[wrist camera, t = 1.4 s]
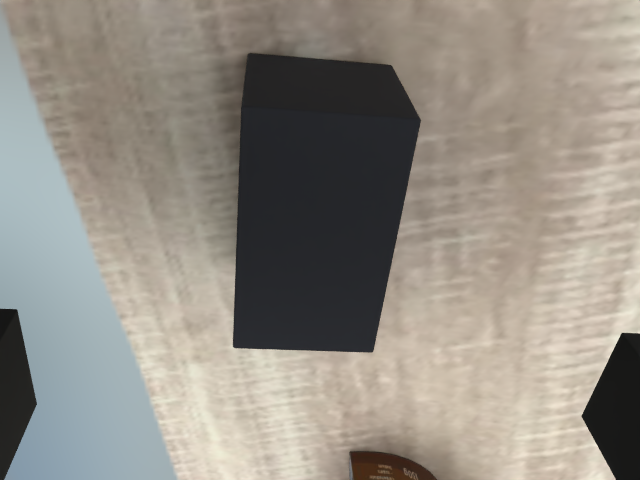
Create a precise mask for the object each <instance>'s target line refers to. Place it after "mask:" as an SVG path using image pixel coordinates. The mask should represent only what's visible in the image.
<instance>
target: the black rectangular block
mask: <svg viewBox="0 0 640 480" xmlns="http://www.w3.org/2000/svg"><path fill="white" fill-rule="evenodd" d="M420 122H421V120H420V118H419V116H418V114H417V112H416V110H415V108H414V106H413V104H412V103H411V101H410V99H409V97H408V95H407V93H406V91H405V90H404V88H403V86H402V84H401V82H400V80H399V78H398V77H397V75H396V73H395V71H394V69H393V67H392V66H391V65H381V64H369V63H357V62H346V61H334V60H322V59H311V58H299V57H287V56H276V55H264V54H252V53H249V54H248V57H247V65H246V73H245V82H244V90H243V98H242V106H241V131H240V160H239V188H238V217H237V245H236V274H235V302H234V331H233V347H234V348H248V349H279V350H311V351H342V352H373V350H374V346H375V341H376V336H377V331H378V326H379V321H380V316H381V312H382V307H383V302H384V297H385V292H386V287H387V282H388V277H389V273H390V268H391V263H392V258H393V253H394V248H395V243H396V239H397V234H398V229H399V224H400V219H401V214H402V209H403V205H404V200H405V195H406V190H407V185H408V180H409V175H410V171H411V166H412V161H413V156H414V151H415V146H416V141H417V137H418V132H419V127H420Z"/></svg>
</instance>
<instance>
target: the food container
mask: <svg viewBox="0 0 640 480" xmlns="http://www.w3.org/2000/svg"><path fill="white" fill-rule="evenodd" d="M349 480H437V479H436V478H435V477H434V476H433V475H432V474H431V473H430V472H429V471H428V470H426V469H425V468H424V467H422V466H421V465H419V464H417V463H415V462H413V461H411V460H408V459H405V458H402V457H399V456H395V455H390V454H385V453H376V452H350V468H349Z"/></svg>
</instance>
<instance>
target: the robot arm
mask: <svg viewBox="0 0 640 480" xmlns="http://www.w3.org/2000/svg"><path fill="white" fill-rule="evenodd" d="M36 405H37V402H36V398H35V393H34V388H33V384H32V379H31V374H30V369H29V364H28V359H27V355H26V350H25V345H24V340H23V335H22V331H21V326H20V321H19V316H18V311H17V310H16V309H0V480H4V479H5V476H6V474H7V472H8V469H9V467H10V465H11V462H12V460H13V458H14V456H15V453H16V451H17V449H18V446H19V444H20V442H21V439H22V437H23V435H24V432H25V430H26V428H27V425H28V423H29V421H30V418H31V416H32V414H33V411H34V409H35V407H36ZM582 418H583V420H584V422H585V424H586V425H587V427H588V429H589V431H590V433H591V435H592V436H593V438H594V440H595V442H596V444H597V445H598V447H599V449H600V451H601V453H602V455H603V456H604V458H605V460H606V462H607V464H608V466H609V467H610V469H611V471H612V473H613V475H614V477H615V478H616V480H640V334H638V333H622V334H621V336H620V338H619V340H618V342H617V344H616V346H615V348H614V350H613V352H612V354H611V356H610V358H609V360H608V363H607V365H606V367H605V369H604V371H603V373H602V375H601V377H600V379H599V381H598V383H597V385H596V387H595V389H594V391H593V394H592V396H591V398H590V400H589V402H588V404H587V406H586V408H585V410H584V412H583V414H582Z"/></svg>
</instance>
